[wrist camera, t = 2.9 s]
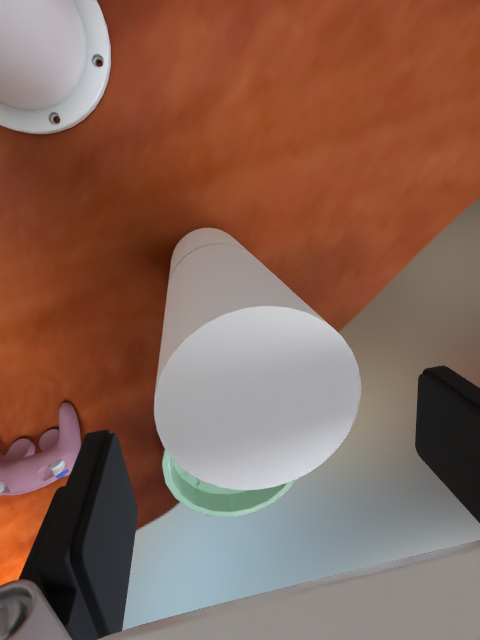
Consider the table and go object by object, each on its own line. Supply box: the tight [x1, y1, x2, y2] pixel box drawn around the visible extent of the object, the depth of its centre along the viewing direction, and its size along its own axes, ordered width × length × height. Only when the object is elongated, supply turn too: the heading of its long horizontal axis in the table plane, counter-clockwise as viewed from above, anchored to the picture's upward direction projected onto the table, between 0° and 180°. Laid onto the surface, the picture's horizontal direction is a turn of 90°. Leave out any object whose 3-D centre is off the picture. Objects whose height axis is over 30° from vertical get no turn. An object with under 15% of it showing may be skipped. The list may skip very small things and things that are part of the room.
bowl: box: [162, 446, 296, 517], centre depth 40 cm, size 14×14×6 cm
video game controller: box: [0, 402, 81, 495], centre depth 37 cm, size 10×5×7 cm, turn 105°
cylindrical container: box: [154, 228, 361, 490], centre depth 24 cm, size 7×7×25 cm
